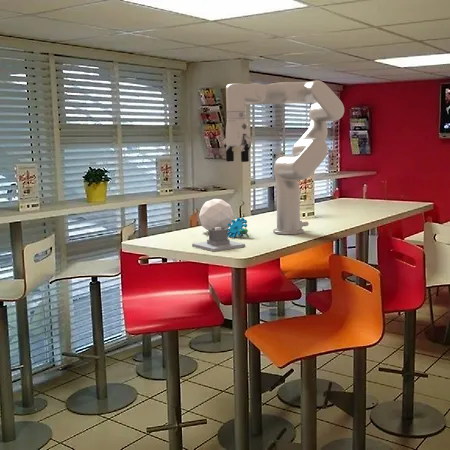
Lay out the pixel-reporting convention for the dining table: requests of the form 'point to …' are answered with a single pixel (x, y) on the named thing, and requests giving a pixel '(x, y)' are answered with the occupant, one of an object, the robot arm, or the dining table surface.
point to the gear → (237, 228)
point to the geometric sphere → (216, 214)
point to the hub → (218, 234)
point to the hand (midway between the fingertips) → (237, 161)
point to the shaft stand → (218, 244)
